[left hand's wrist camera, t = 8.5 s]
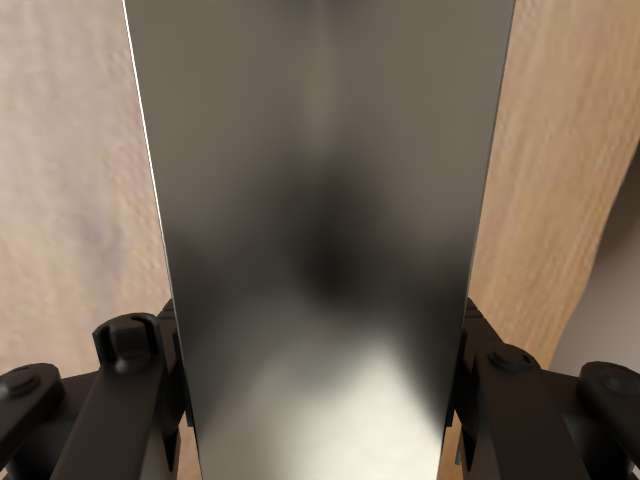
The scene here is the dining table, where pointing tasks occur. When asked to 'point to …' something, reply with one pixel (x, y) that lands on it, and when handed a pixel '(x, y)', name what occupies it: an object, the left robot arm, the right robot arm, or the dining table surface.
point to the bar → (319, 219)
